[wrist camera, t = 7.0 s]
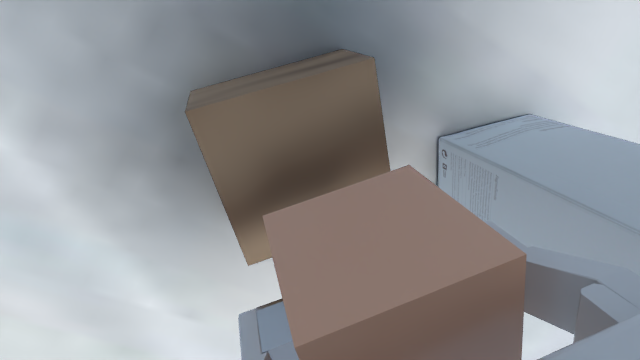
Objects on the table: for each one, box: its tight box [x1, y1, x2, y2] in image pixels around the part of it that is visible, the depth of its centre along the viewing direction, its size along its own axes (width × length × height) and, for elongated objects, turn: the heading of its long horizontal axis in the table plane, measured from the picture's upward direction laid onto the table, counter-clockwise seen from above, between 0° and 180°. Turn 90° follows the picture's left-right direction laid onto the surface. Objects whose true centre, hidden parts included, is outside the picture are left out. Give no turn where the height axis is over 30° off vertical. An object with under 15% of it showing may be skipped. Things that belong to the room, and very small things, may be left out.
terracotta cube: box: [263, 165, 527, 360], centre depth 10 cm, size 5×5×5 cm
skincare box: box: [438, 114, 640, 276], centre depth 21 cm, size 8×6×15 cm
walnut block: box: [185, 49, 390, 266], centre depth 21 cm, size 9×9×5 cm
